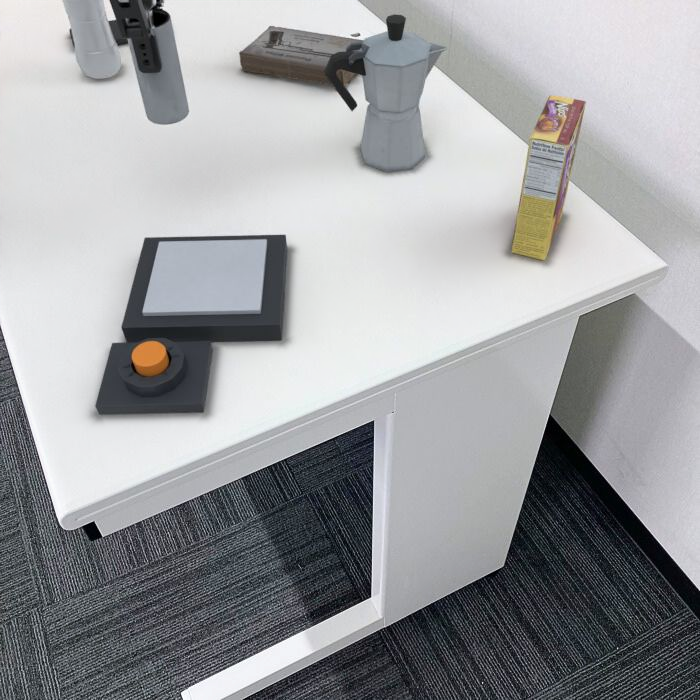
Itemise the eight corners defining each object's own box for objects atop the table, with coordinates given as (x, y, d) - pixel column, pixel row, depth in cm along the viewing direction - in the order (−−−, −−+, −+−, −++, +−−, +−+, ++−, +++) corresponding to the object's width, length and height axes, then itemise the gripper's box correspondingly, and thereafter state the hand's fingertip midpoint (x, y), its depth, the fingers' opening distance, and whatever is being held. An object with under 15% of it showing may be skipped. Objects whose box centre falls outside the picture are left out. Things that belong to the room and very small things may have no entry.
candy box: (526, 208, 90) (549, 92, 79) (562, 216, 89) (590, 100, 77) (507, 253, 85) (529, 136, 73) (544, 262, 83) (572, 145, 72)
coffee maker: (430, 129, 102) (440, -4, 88) (447, 166, 96) (460, 29, 82) (323, 141, 100) (316, 8, 87) (333, 180, 94) (328, 43, 81)
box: (343, 91, 107) (343, 70, 105) (239, 71, 112) (237, 51, 110) (372, 59, 114) (372, 39, 112) (272, 42, 119) (270, 23, 117)
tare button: (132, 377, 70) (128, 366, 69) (138, 351, 72) (134, 341, 71) (166, 376, 70) (163, 366, 69) (171, 351, 72) (168, 340, 71)
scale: (126, 344, 76) (119, 323, 74) (149, 253, 86) (143, 233, 83) (281, 340, 76) (279, 320, 74) (287, 251, 86) (285, 230, 83)
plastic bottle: (99, 59, 116) (59, -80, 101) (134, 68, 114) (99, -73, 99) (72, 78, 112) (27, -64, 97) (107, 88, 110) (67, -56, 95)
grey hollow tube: (173, 98, 81) (153, 3, 74) (197, 113, 79) (179, 17, 71) (138, 113, 79) (113, 18, 72) (162, 130, 77) (139, 33, 69)
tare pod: (98, 414, 70) (90, 395, 68) (115, 351, 76) (107, 331, 73) (203, 412, 70) (198, 393, 68) (213, 349, 76) (208, 329, 73)
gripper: (143, -110, 57) (184, 94, 70) (167, -164, 66) (199, 24, 79) (45, -107, 57) (104, 96, 70) (83, -162, 66) (129, 27, 79)
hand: (155, 57), depth 74 cm, fingers closed on grey hollow tube, 4 cm apart
